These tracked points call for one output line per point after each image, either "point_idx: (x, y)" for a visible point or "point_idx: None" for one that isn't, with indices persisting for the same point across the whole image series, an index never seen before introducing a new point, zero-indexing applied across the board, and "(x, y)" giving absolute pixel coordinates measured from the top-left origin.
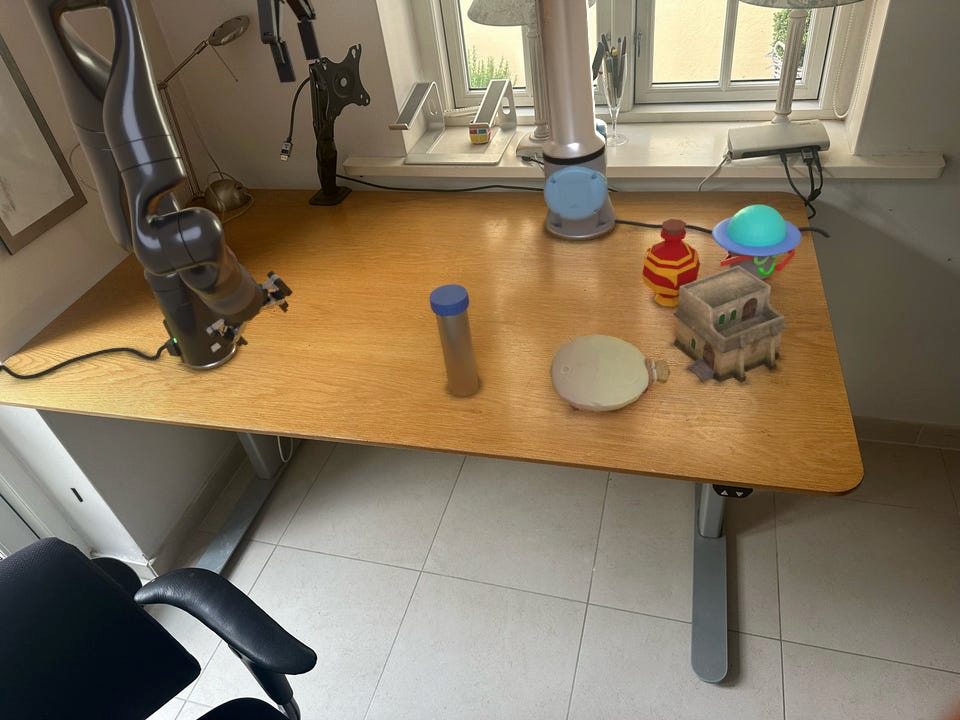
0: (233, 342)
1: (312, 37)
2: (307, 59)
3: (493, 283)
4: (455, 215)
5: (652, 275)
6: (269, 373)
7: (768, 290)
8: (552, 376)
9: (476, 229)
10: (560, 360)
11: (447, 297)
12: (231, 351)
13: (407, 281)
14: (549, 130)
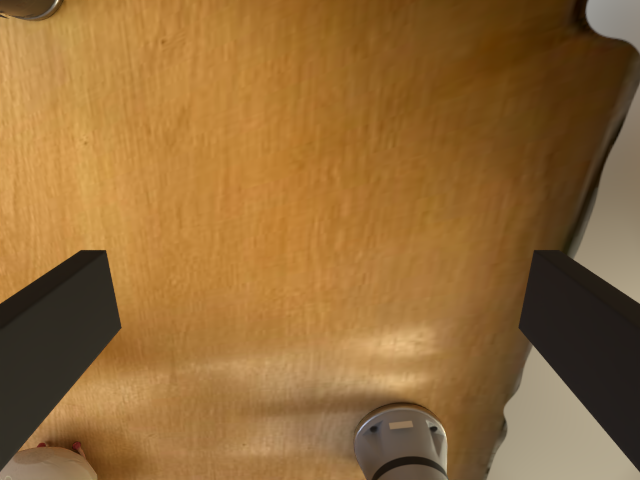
0: (38, 14)
1: (599, 406)
2: (534, 259)
3: (257, 355)
4: (463, 279)
5: None
6: (11, 103)
7: None
8: (16, 460)
9: (409, 317)
10: (21, 475)
11: None
12: (23, 18)
13: (260, 245)
14: None
